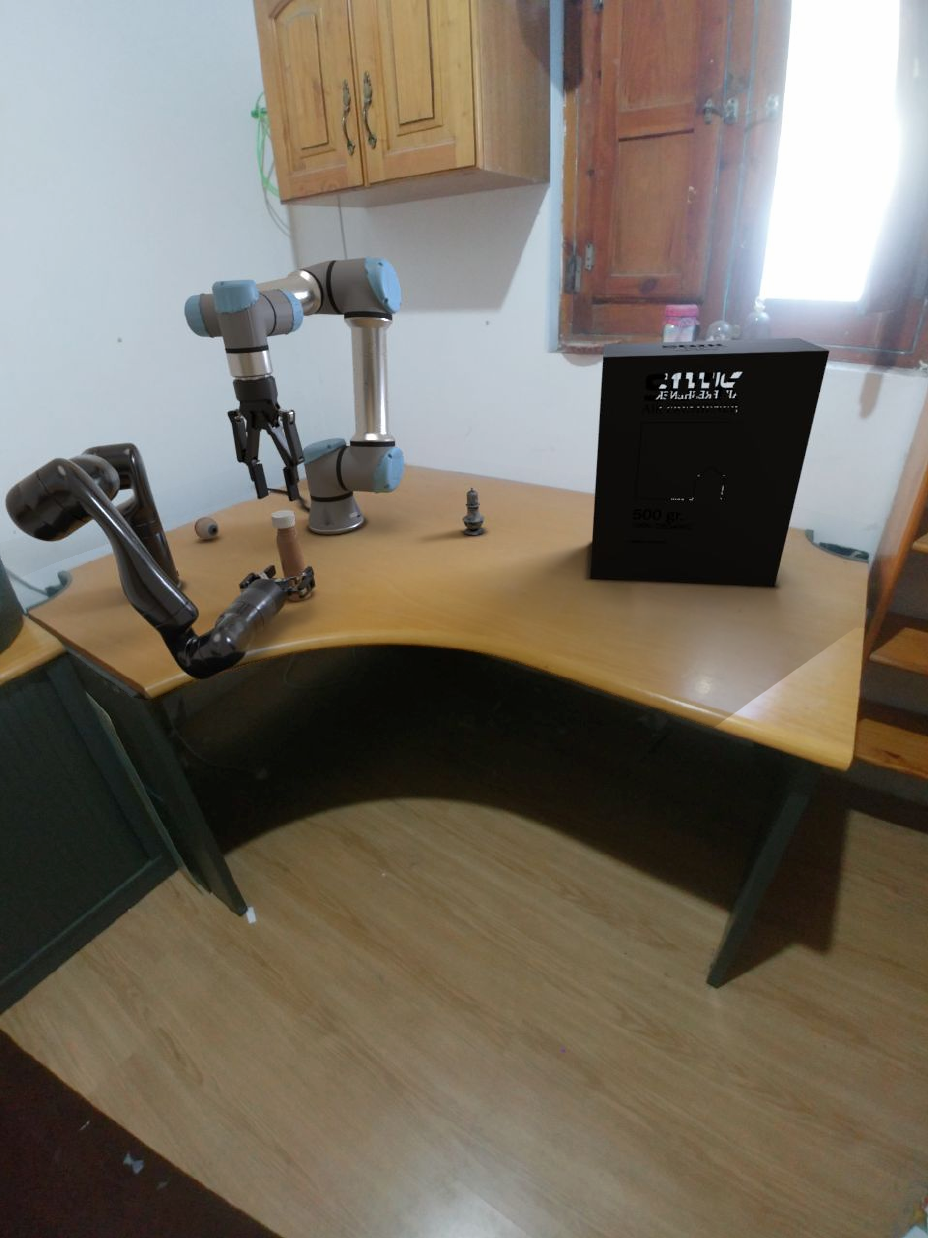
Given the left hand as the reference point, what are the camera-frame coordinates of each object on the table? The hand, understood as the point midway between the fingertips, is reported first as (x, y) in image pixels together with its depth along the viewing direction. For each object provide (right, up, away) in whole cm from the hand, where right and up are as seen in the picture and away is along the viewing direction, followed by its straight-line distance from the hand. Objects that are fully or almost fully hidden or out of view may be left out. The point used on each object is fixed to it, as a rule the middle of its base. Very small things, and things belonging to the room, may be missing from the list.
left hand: (292, 569), depth 129 cm
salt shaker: (+39, +13, +31) cm, 52 cm away
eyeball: (-33, +11, +36) cm, 50 cm away
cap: (-1, +11, -5) cm, 12 cm away
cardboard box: (+85, +2, +9) cm, 85 cm away
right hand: (-1, +14, -7) cm, 16 cm away
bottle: (0, -6, +4) cm, 7 cm away
